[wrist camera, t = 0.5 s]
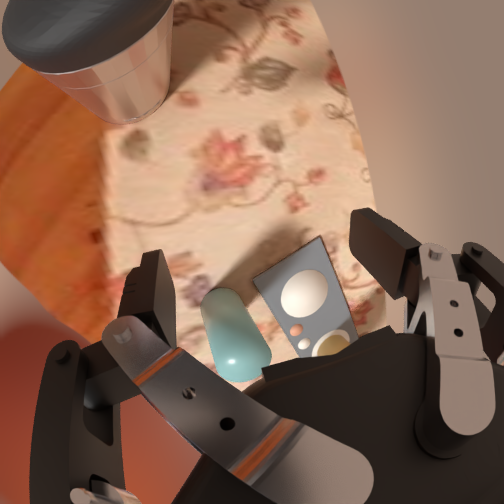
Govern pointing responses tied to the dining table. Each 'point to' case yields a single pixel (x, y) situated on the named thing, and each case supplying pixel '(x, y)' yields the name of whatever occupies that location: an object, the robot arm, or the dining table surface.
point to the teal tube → (233, 336)
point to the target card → (307, 299)
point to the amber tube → (332, 345)
